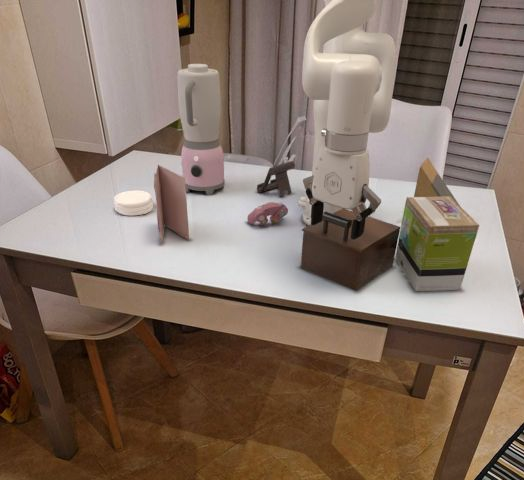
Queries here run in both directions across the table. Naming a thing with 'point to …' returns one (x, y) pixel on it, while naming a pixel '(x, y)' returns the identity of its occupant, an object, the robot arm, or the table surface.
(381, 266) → the wooden box
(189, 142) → the blender
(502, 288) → the table surface
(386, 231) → the lid
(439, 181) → the sandwich container
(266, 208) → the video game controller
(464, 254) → the tea box
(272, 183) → the tablet stand
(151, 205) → the coaster
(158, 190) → the greeting card
